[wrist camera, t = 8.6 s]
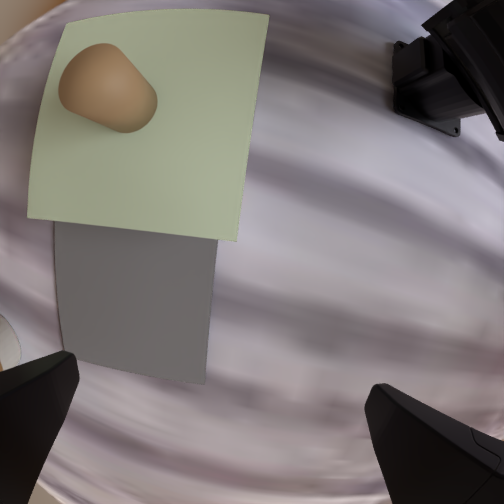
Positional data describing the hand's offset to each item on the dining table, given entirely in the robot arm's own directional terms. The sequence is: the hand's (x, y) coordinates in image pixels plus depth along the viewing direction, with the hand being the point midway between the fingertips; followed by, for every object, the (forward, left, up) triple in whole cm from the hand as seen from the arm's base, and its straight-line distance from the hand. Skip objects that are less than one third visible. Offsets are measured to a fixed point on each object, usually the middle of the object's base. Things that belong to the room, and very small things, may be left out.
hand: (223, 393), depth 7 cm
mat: (+7, +3, -12) cm, 14 cm away
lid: (+6, -9, -8) cm, 13 cm away
